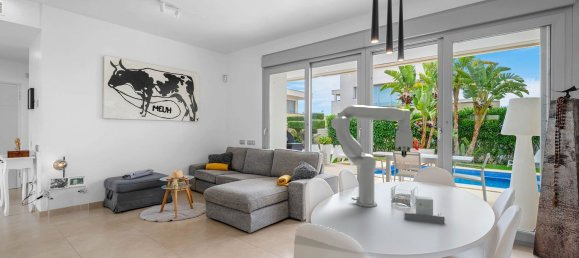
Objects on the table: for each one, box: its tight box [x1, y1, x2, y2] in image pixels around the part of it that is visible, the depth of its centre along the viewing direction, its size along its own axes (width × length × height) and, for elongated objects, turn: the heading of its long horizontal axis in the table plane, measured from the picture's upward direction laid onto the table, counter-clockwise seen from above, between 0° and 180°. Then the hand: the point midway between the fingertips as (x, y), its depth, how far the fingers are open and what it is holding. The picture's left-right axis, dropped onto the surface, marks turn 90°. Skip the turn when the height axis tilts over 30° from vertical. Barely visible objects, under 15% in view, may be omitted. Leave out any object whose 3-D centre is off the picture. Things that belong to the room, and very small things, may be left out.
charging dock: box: [403, 209, 446, 225], centre depth 149 cm, size 18×13×4 cm
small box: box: [414, 196, 434, 215], centre depth 150 cm, size 8×6×10 cm
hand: (404, 157), depth 180 cm, fingers closed
